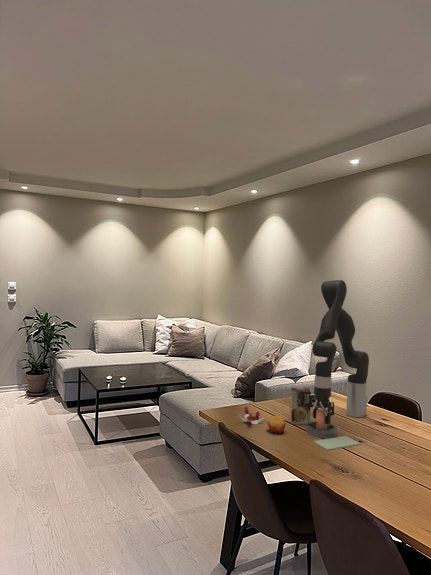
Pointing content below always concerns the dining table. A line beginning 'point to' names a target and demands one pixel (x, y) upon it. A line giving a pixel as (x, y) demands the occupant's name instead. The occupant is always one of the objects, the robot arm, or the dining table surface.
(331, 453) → the dining table surface
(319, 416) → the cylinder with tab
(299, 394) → the coffee box
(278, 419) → the fruit
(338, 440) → the mat
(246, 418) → the figurine
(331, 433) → the holder
